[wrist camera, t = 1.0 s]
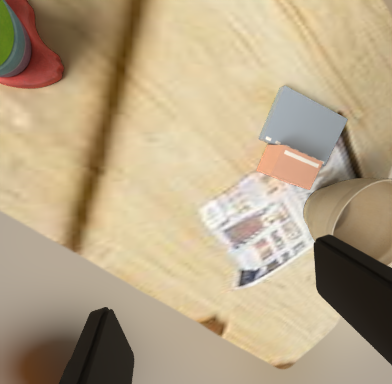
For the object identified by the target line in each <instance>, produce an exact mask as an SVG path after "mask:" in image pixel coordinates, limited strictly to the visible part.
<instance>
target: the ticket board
mask: <svg viewBox="0 0 392 384" xmlns="http://www.w3.org/2000/svg"><path fill="white" fill-rule="evenodd" d="M347 120H348V119H347V118H345V117H343V116H341V115H339V114H337V113H336V112H334V111H332V110H330V109H328V108H326V107H324V106H322V105H321V104H319V103H317V102H315V101H313V100H311V99H309V98H307V97H306V96H304V95H302V94H300V93H298V92H296V91H294V90H292V89H291V88H289V87H287V86H283V87H281V88H279V90H278V93H277V95H276V98H275V100H274V103H273V105H272V107H271V110H270V112H269V115H268V117H267V119H266V122H265V124H264V127H263V129H262V132H261V134H260V136H259V140H262V141H264V142H266V143H269V144H271V145H285V146H287V147H290V148H292V149H294V150H297V151H299V152H301V153H303V154H306V155H308V156H310V157H312V158H315V159H317V160H319V161H321V162H323V164H322V166H325V165H326V163H327V161H328V159H329V157H330V154H331V152H332V150H333V148H334V146H335V144H336V142H337V140H338V138H339V136H340V134H341V132H342V130H343V128H344V126H345V124H346V122H347Z"/></svg>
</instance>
